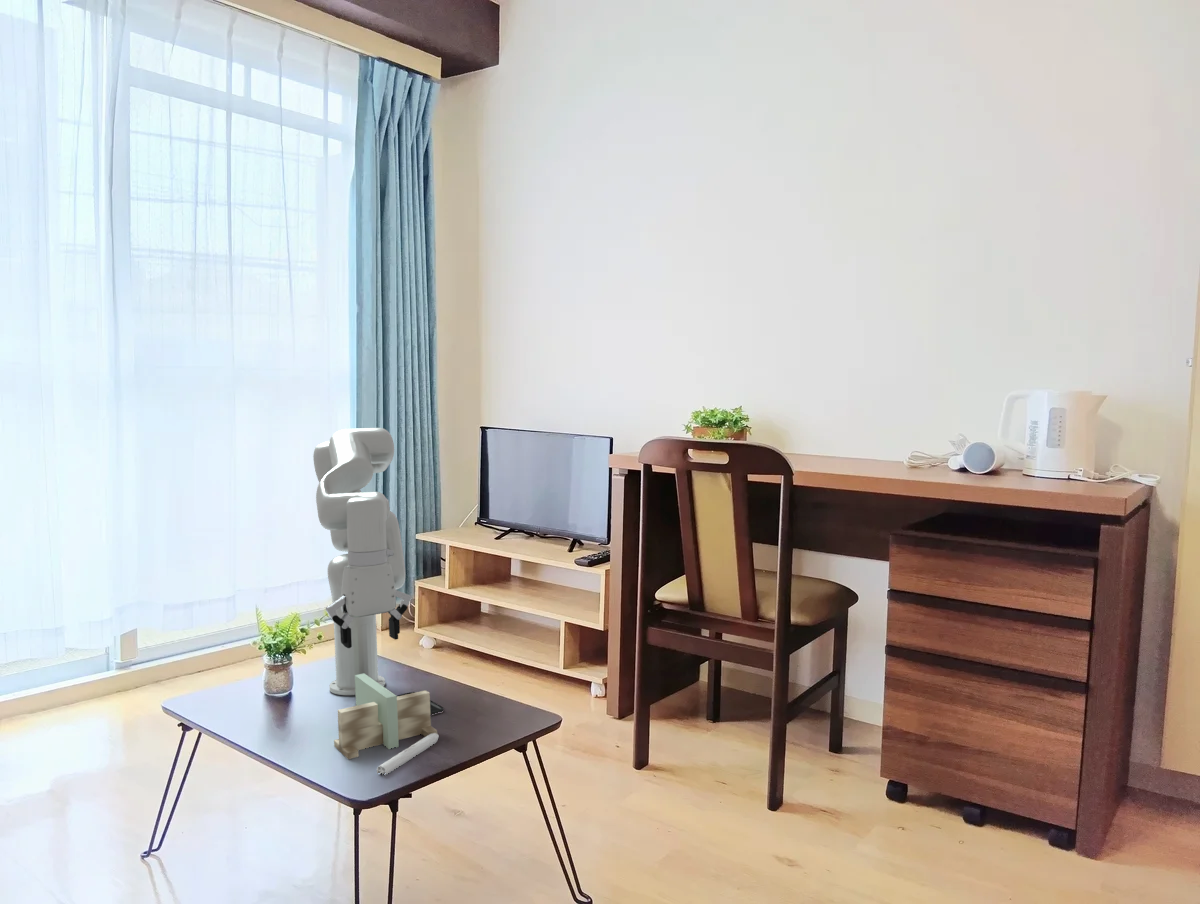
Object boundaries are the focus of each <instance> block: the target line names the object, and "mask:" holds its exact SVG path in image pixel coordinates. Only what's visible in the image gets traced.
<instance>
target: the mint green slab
mask: <svg viewBox="0 0 1200 904" xmlns="http://www.w3.org/2000/svg"><path fill="white" fill-rule="evenodd" d="M355 693H356V695H355V706H358V705H362V704H367V703H371V702H375V703H376V704H378V721H379V722H380V723H381V724H382V725H383V743H384V744H383V746H384V747H385V746H386V747H385V748H387V749H388V750H392V749H395V748H394V747H396V748H399V740H398V716H397V695H396V694H395V693H393V692H392V691H390V690H389V689H387V688H386V687H385V686H382V685H380V684H379V683H377V682H376V681H374V680H373V679H372V678H370V677H369V676H367V675H366V674H364V673H363V674H358V675H355ZM391 748H392V749H391Z"/></svg>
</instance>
